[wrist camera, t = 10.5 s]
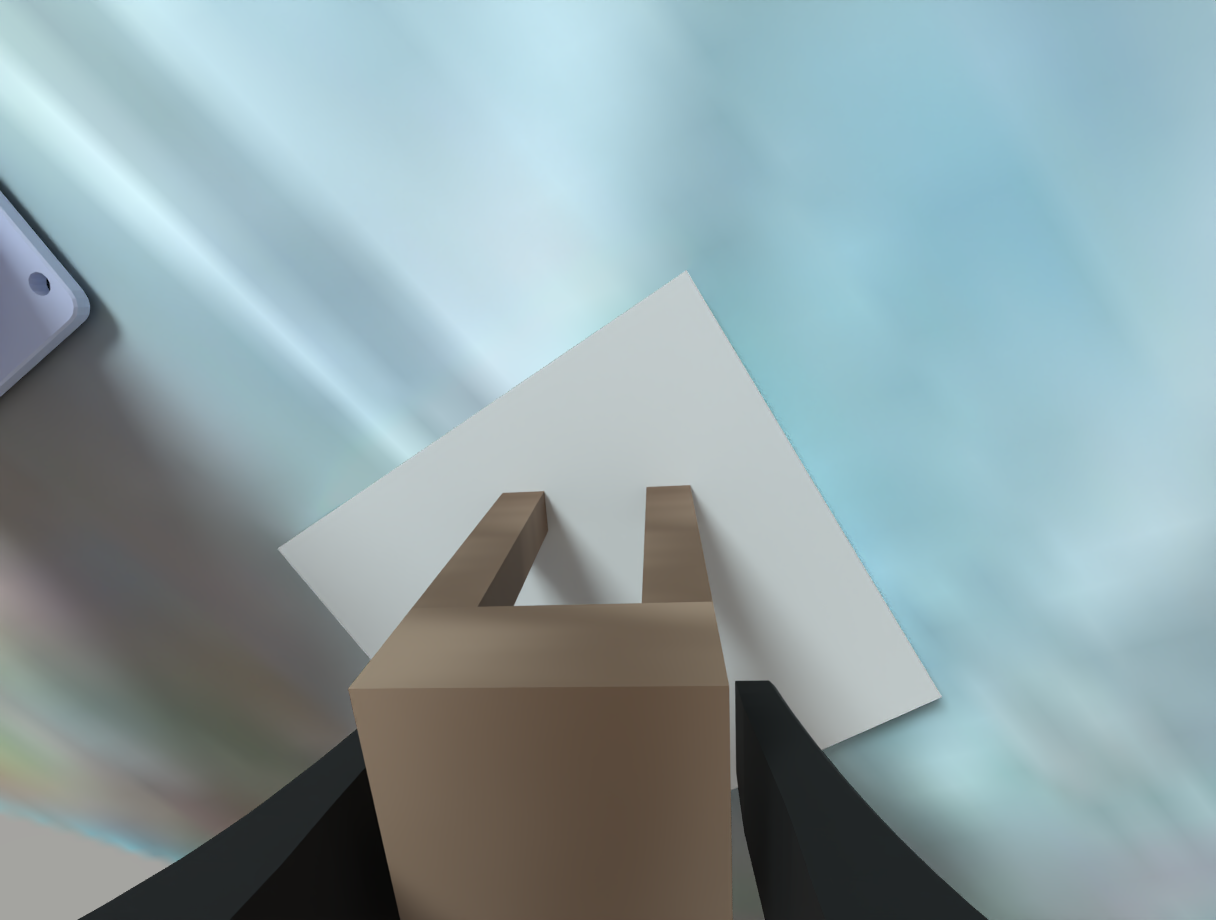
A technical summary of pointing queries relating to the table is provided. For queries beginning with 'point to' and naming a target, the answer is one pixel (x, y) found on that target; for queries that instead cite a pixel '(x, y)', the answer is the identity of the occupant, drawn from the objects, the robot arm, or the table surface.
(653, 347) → the mat
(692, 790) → the brown forked block
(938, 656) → the table surface
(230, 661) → the table surface
